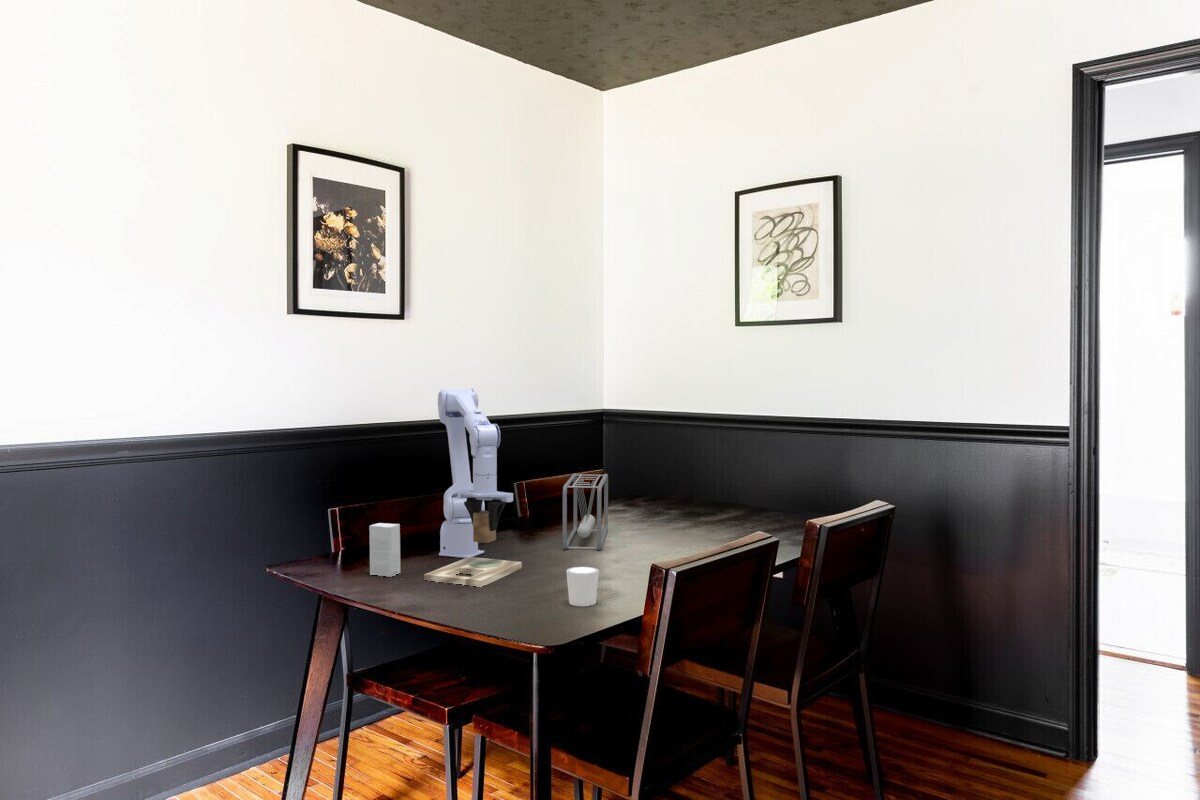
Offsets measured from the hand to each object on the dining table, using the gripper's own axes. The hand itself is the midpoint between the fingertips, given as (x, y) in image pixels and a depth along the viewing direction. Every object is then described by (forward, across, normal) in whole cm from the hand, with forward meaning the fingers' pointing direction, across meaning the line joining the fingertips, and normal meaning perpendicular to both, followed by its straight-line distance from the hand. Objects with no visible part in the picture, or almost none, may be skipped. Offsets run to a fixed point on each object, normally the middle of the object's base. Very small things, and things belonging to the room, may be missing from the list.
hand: (485, 529), depth 208 cm
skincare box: (+10, -20, -14) cm, 26 cm away
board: (+10, 0, -5) cm, 11 cm away
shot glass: (+10, +34, -18) cm, 39 cm away
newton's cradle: (+10, +9, +43) cm, 45 cm away
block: (+3, 0, 0) cm, 3 cm away
